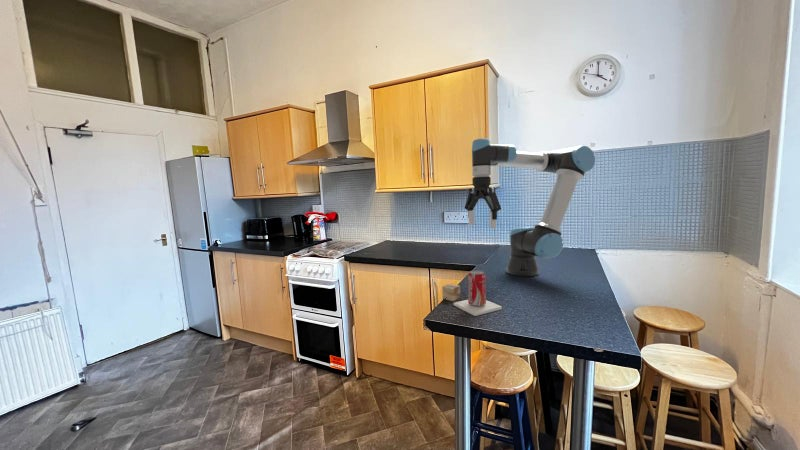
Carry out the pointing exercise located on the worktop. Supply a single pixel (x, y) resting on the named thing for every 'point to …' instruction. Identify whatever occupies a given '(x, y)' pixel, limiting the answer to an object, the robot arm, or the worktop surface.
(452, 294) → the oak block
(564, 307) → the worktop surface
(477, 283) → the beverage can
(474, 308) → the tile
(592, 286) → the worktop surface
